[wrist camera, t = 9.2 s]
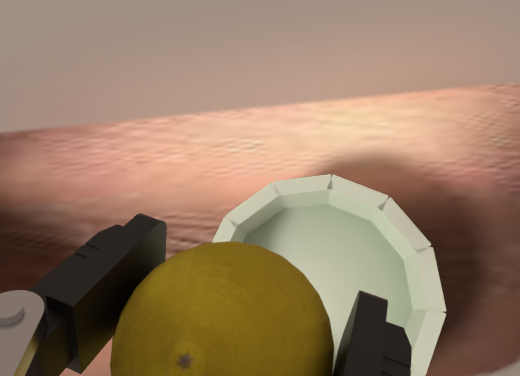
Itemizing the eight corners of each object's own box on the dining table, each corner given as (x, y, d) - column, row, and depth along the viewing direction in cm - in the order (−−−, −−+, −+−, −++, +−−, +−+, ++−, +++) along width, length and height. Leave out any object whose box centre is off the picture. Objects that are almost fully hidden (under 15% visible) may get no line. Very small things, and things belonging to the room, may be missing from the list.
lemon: (292, 237, 16) (270, 168, 8) (355, 386, 14) (402, 473, 7) (158, 293, 16) (14, 275, 8) (205, 449, 14) (78, 606, 7)
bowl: (182, 345, 29) (159, 351, 25) (265, 167, 32) (258, 145, 27) (378, 448, 26) (390, 476, 21) (451, 241, 29) (475, 229, 24)
